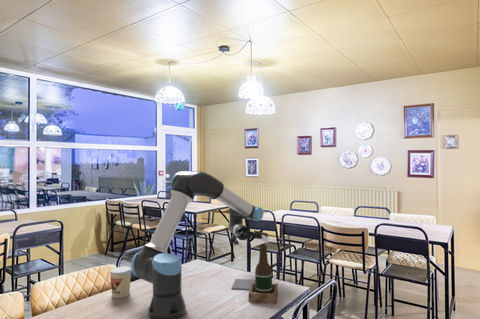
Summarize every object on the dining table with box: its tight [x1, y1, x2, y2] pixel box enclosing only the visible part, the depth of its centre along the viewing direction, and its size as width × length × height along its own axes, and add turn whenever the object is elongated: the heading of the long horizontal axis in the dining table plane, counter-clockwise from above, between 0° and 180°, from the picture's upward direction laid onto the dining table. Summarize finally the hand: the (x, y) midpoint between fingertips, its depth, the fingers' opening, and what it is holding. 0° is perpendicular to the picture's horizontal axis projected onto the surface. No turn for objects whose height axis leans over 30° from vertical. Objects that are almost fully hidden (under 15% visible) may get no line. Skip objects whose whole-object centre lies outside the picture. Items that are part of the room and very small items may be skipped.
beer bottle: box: [254, 244, 273, 294], centre depth 146 cm, size 8×8×24 cm
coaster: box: [231, 278, 255, 291], centre depth 160 cm, size 12×12×1 cm
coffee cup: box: [109, 265, 132, 299], centre depth 150 cm, size 9×9×12 cm
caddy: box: [248, 283, 279, 305], centre depth 146 cm, size 12×12×4 cm
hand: (254, 242), depth 154 cm, fingers open, 13 cm apart
